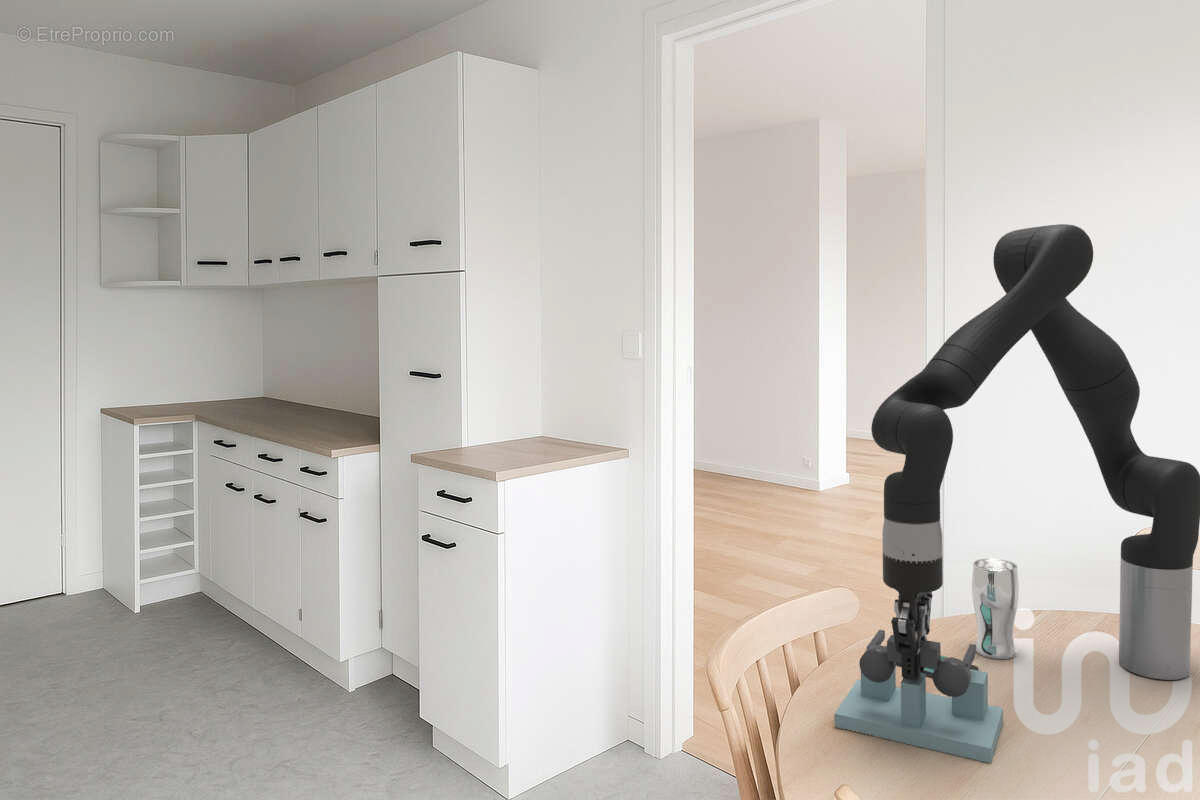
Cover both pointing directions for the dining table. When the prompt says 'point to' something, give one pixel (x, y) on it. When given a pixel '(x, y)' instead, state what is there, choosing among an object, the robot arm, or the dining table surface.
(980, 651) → the beer glass
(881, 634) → the glasses
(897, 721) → the stand
